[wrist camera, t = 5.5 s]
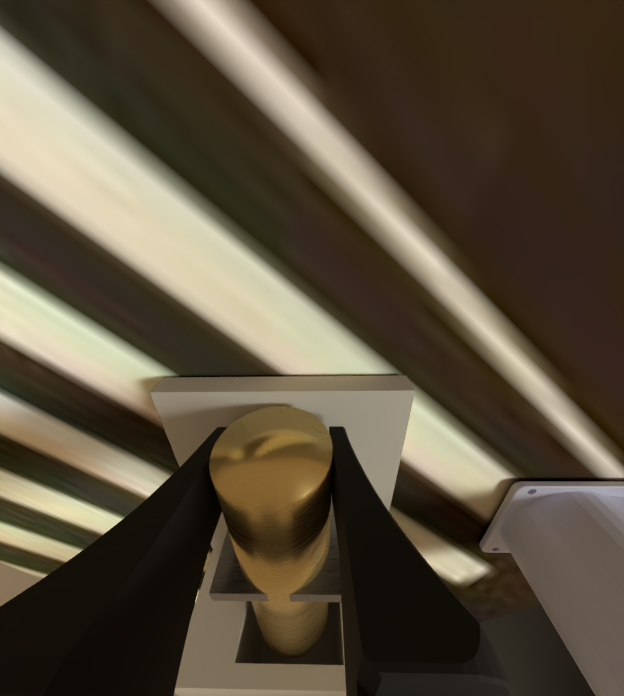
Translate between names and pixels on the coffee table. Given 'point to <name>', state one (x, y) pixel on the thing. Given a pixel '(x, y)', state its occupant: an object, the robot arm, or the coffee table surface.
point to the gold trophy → (278, 524)
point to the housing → (227, 616)
